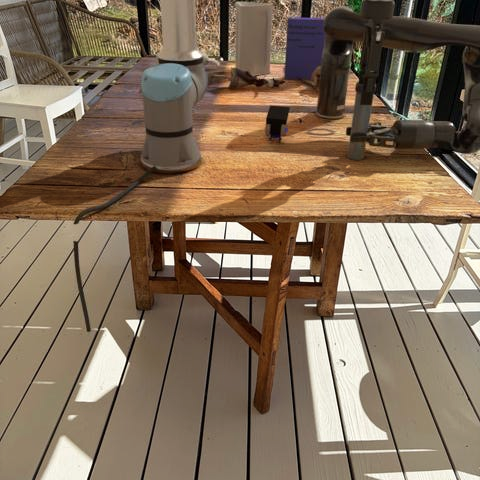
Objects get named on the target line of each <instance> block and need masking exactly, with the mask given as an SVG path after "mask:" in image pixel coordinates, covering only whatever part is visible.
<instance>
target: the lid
mask: <svg viewBox="0 0 480 480" xmlns="http://www.w3.org/2000/svg"><path fill="white" fill-rule="evenodd" d="M362 87H363V82H358V81H357V82H356V83H355V87H354V91H355V92H360V93H362ZM376 92H377V83H375V86H374V93H376Z"/></svg>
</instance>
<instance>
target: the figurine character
mask: <svg viewBox="0 0 480 480" xmlns="http://www.w3.org/2000/svg"><path fill="white" fill-rule="evenodd" d="M289 113H290V107H289V106H282V105H281V106H280V105H269V109H268V111H267V115H266V118H265V129H264V137H269V138H268V142H269V143H272V139H275V140H276V139H278V143H281V142H282V139H283V138H285V137H286V134H287V133H288V132H289V129H288V126H287V125H288V119H289Z"/></svg>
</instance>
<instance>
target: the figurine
mask: <svg viewBox="0 0 480 480" xmlns="http://www.w3.org/2000/svg"><path fill="white" fill-rule="evenodd" d="M230 69H231V72H230V73H231V74H230V76H229V75H225V74H213V73H211V74H210V78H209V85H212V84H213V83H214V79H215V78H216V79H223V80H227V81H229V84H228V88H229V89H241V88H247V87H249V86H255V87H256V88H262V87H268V88H271V89H273V88H280V86H281V85H284V84H286V83H287V79H275V78H274V77H272V78H265V77H262V78H261V77H257V76H252V75H251V73H250V72H249V71H245V72H244V71H242V70H240V69H237V68H235V67H232V66H231V67H230Z"/></svg>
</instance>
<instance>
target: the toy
mask: <svg viewBox="0 0 480 480" xmlns="http://www.w3.org/2000/svg"><path fill="white" fill-rule="evenodd" d="M160 52H161V51H159V52H157V53H156V54H155V55H156V56H155V66H156V65H158V54H159V53H160ZM200 52H201V53H202V54H203V66H207V65H209V64H214V65H215V67H216V66H217V67H218V68H219V67H220V66H221V63H220V62H219V60H216V59H215V58H209V56H208V55H207V54H204V53H203V52H202V51H200Z"/></svg>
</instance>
